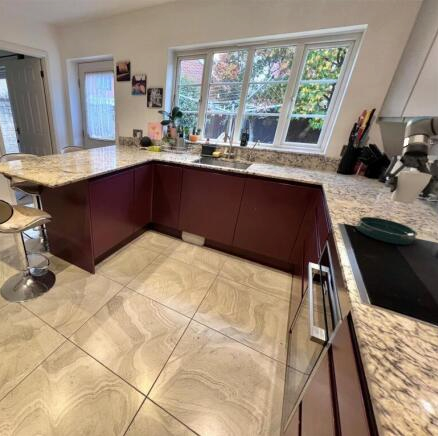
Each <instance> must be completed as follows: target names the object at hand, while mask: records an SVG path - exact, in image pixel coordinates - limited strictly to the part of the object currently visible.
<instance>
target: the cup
mask: <svg viewBox="0 0 438 436" xmlns="http://www.w3.org/2000/svg"><path fill="white" fill-rule="evenodd" d="M397 176H398V180H397V187H396V190H395V191H394V192H393V193H391V196H390V200H392V201H394V202H398V203H402V204H410V205H411V204H413V203H414V202H415V200H416V199H417V198H418V197H419V196H420V194H421V193H423V189H424V188H425V187H426V186H427V184H428V183H429V181H430V178H431V176H432V175H430V174H426V173H421V172H419V171H415V170H401V171H400V172H399V173H398V175H397Z"/></svg>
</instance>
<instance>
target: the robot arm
mask: <svg viewBox="0 0 438 436" xmlns="http://www.w3.org/2000/svg"><path fill="white" fill-rule="evenodd" d="M437 136H438V116H436V117H430V116H427V115H423V116H420V115H419V116H416V117H413V118H412V119H410V120H409V121H407V124H406V126H405V129H404V138H403V146H402V151H401V156H397V155H394V156H393V157H392V158H391V159H390V164H389V165H388V167H387V169H386V171H385V173H384V174H383V177H384V178H387V180H388V185H390V190H389V193H391V194H392V193H393V192H394V191H395V190H396V187H397V180H398V176H399V174H400V172H401V171H403V170H404V169H405V168H407V169H410V168H411V169H416V171H417V172H421V173H426V174H430V175H432V176H431V178H430V181H429V183H428V184H427V186H426V187H425V188H424V189H423V191H422V198H427V197H428V196H429V195H430V193H431V190H433V189H434V188H435V187H434V186H435V184H438V159H434V160H431V159H429V158H428V156H429V150H430V148H429V147H430V141H431V137H437ZM398 162H401V164H402V165H400V166H399V167H398V168H397V169H396V170H395V171H394V172H393V173H392V171H393V169H394V167H395V166H396V164H397V163H398ZM428 167H429V168H428Z"/></svg>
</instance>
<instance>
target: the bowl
mask: <svg viewBox="0 0 438 436" xmlns="http://www.w3.org/2000/svg"><path fill="white" fill-rule="evenodd" d="M355 229H356V230H357V231H358V232H360V233H361V234H363V235H365V236H367V237H369V238H372V239H374V240H376V241H380V242H384V243H388V244H394V245H395V244H396V245H404V246H406V245H411V244H413V243H414V241H415V239H416V238H417V237H418V232H417V231H416V230H415V229H413V228H412V227H410V226H408V225H405V224H403V223H401V222H397V221H394V220H391V219H385V218H381V217H375V216H361V217H359V219H358V221H357V223H356V225H355Z"/></svg>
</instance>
